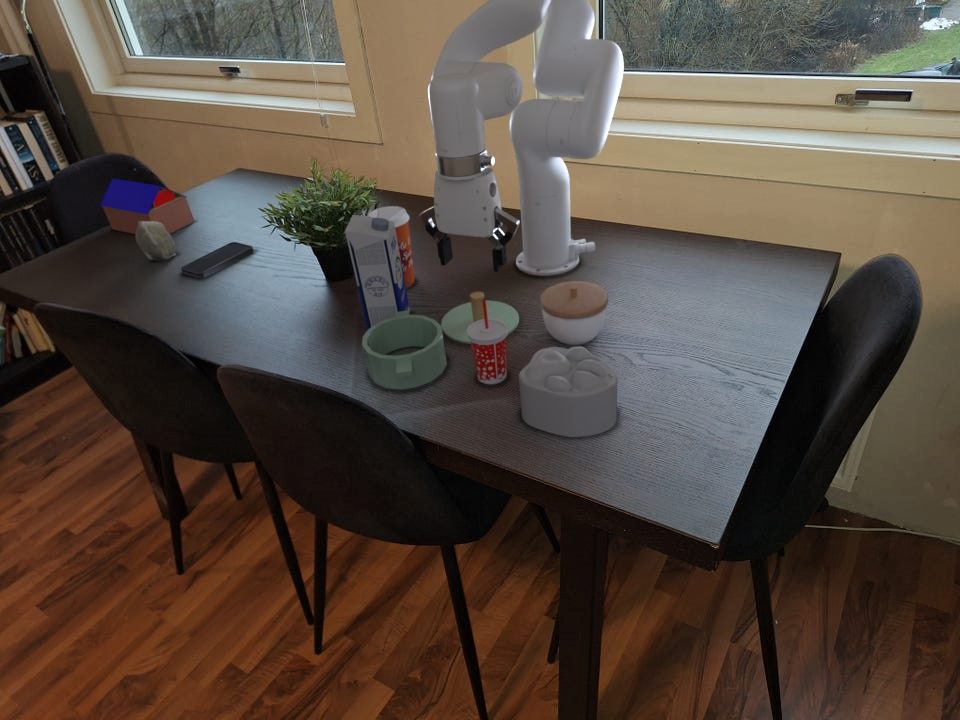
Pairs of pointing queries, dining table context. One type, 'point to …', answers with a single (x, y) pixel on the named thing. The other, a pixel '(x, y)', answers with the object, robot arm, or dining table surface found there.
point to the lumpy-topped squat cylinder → (568, 392)
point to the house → (144, 206)
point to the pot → (409, 366)
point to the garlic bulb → (155, 240)
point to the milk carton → (377, 267)
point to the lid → (476, 317)
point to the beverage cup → (489, 348)
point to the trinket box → (574, 311)
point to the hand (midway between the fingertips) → (472, 265)
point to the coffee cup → (399, 237)
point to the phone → (217, 260)
